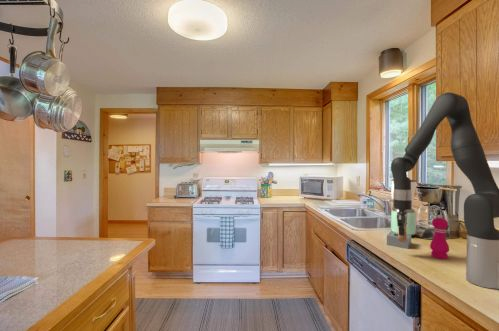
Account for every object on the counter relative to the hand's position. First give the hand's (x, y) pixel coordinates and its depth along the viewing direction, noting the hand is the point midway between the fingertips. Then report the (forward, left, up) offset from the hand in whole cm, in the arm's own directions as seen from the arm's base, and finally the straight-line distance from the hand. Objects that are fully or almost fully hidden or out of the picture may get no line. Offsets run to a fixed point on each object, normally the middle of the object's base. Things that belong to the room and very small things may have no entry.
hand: (402, 234), depth 120 cm
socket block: (+4, -17, -10) cm, 20 cm away
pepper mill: (-14, -9, -10) cm, 20 cm away
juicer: (+6, -39, -10) cm, 41 cm away
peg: (0, 0, -3) cm, 3 cm away
